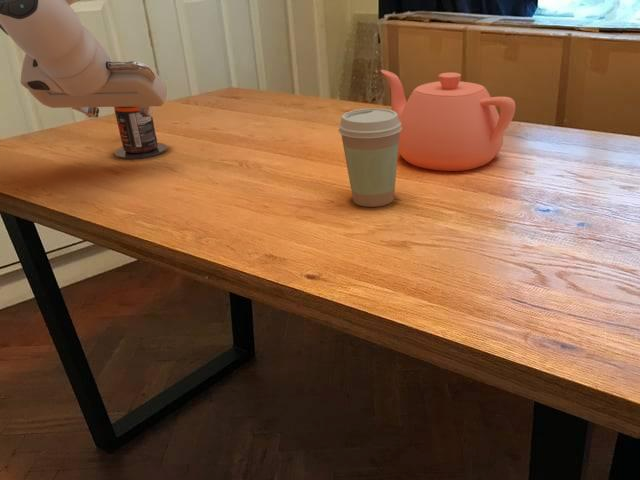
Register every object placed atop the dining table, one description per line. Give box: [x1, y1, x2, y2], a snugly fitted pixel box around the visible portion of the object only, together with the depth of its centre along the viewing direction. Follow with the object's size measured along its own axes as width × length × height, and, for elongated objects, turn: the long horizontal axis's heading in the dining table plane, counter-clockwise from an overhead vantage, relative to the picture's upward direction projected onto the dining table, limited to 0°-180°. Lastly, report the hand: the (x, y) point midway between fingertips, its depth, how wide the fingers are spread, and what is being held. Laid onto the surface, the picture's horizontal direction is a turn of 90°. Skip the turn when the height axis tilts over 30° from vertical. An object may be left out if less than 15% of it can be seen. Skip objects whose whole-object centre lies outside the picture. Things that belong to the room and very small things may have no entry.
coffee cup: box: [338, 107, 402, 208], centre depth 91 cm, size 8×8×12 cm
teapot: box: [380, 69, 517, 172], centre depth 107 cm, size 25×17×13 cm
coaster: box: [114, 142, 169, 160], centre depth 118 cm, size 9×9×1 cm
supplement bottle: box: [113, 107, 159, 153], centre depth 115 cm, size 6×6×11 cm
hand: (121, 113), depth 111 cm, fingers open, 8 cm apart
